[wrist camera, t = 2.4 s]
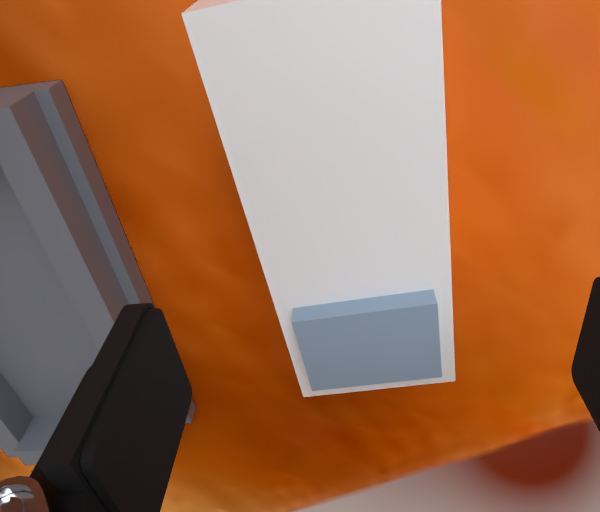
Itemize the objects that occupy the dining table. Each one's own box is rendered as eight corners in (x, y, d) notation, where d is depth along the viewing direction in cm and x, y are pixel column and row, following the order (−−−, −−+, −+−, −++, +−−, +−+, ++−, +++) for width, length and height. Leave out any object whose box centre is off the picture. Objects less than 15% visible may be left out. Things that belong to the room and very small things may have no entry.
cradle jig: (-203, 115, 17) (-289, 150, 15) (61, 79, 16) (16, 110, 14) (23, 416, 27) (-7, 466, 25) (195, 406, 26) (182, 458, 24)
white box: (227, -24, 15) (173, 19, 9) (397, -65, 14) (445, -44, 8) (307, 284, 21) (303, 412, 16) (423, 268, 21) (459, 396, 15)
